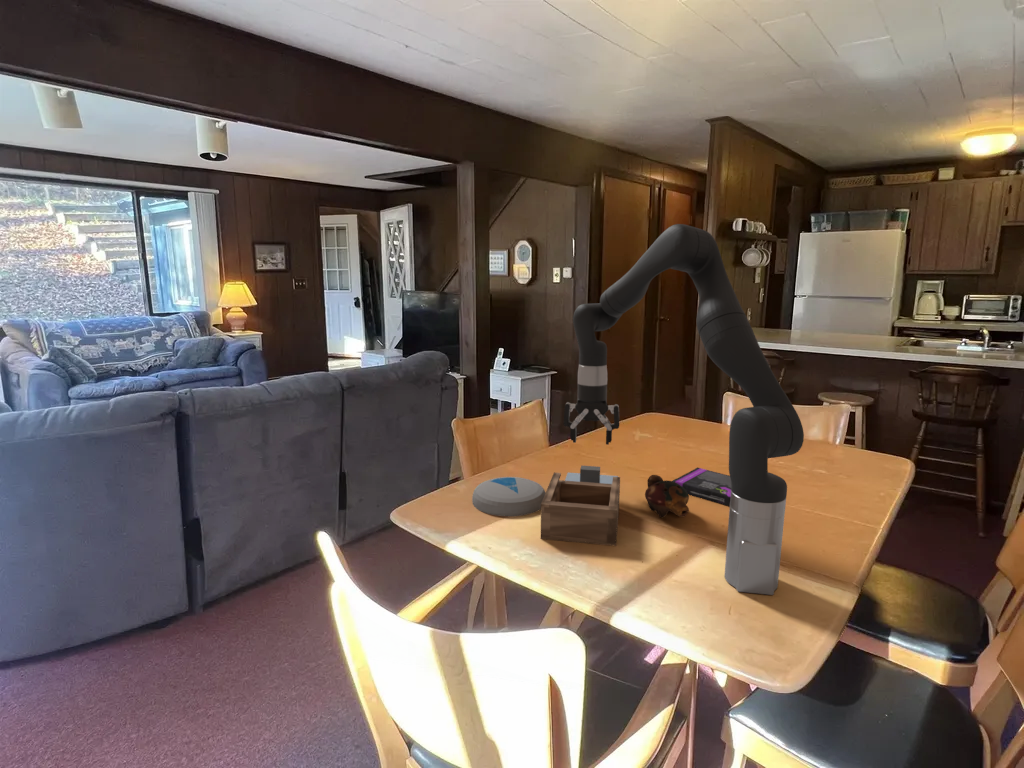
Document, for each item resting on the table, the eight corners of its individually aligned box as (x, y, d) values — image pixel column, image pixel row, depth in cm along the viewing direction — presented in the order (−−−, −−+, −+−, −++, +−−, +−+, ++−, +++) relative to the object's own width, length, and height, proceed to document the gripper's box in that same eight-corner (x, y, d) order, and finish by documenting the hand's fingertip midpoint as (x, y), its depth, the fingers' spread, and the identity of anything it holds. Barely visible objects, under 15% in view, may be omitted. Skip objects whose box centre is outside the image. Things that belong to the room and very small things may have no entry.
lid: (615, 504, 145) (615, 482, 144) (559, 500, 148) (559, 478, 147) (617, 479, 162) (618, 458, 161) (567, 475, 165) (568, 455, 164)
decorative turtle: (664, 499, 147) (665, 469, 145) (703, 523, 133) (706, 490, 132) (630, 505, 144) (632, 474, 142) (668, 530, 130) (670, 496, 128)
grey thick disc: (487, 522, 134) (486, 502, 133) (462, 494, 151) (462, 476, 150) (559, 510, 141) (559, 490, 140) (528, 484, 158) (528, 466, 157)
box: (670, 493, 154) (743, 513, 140) (670, 480, 153) (744, 499, 139) (696, 479, 163) (767, 496, 150) (697, 467, 163) (767, 483, 149)
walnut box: (616, 545, 122) (617, 510, 121) (540, 538, 126) (540, 504, 124) (619, 508, 142) (620, 477, 140) (553, 502, 145) (553, 472, 143)
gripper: (562, 383, 147) (562, 445, 150) (620, 385, 145) (618, 448, 148) (566, 378, 155) (565, 437, 158) (621, 380, 152) (619, 440, 155)
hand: (591, 442), depth 153 cm, fingers open, 8 cm apart
